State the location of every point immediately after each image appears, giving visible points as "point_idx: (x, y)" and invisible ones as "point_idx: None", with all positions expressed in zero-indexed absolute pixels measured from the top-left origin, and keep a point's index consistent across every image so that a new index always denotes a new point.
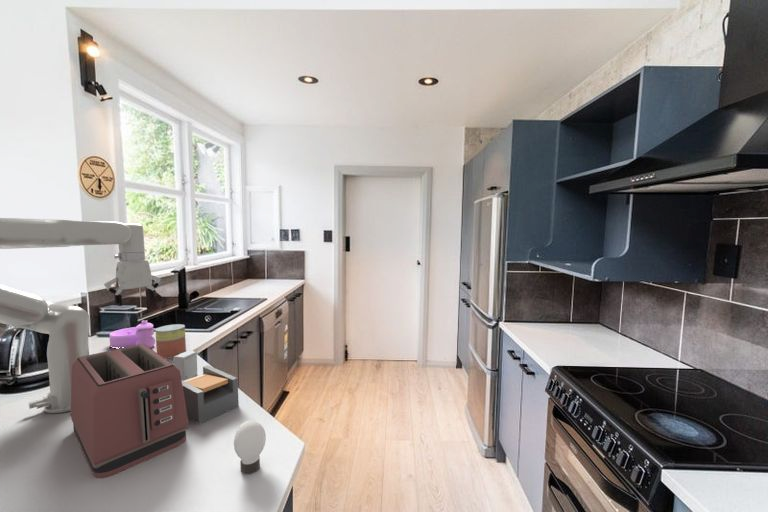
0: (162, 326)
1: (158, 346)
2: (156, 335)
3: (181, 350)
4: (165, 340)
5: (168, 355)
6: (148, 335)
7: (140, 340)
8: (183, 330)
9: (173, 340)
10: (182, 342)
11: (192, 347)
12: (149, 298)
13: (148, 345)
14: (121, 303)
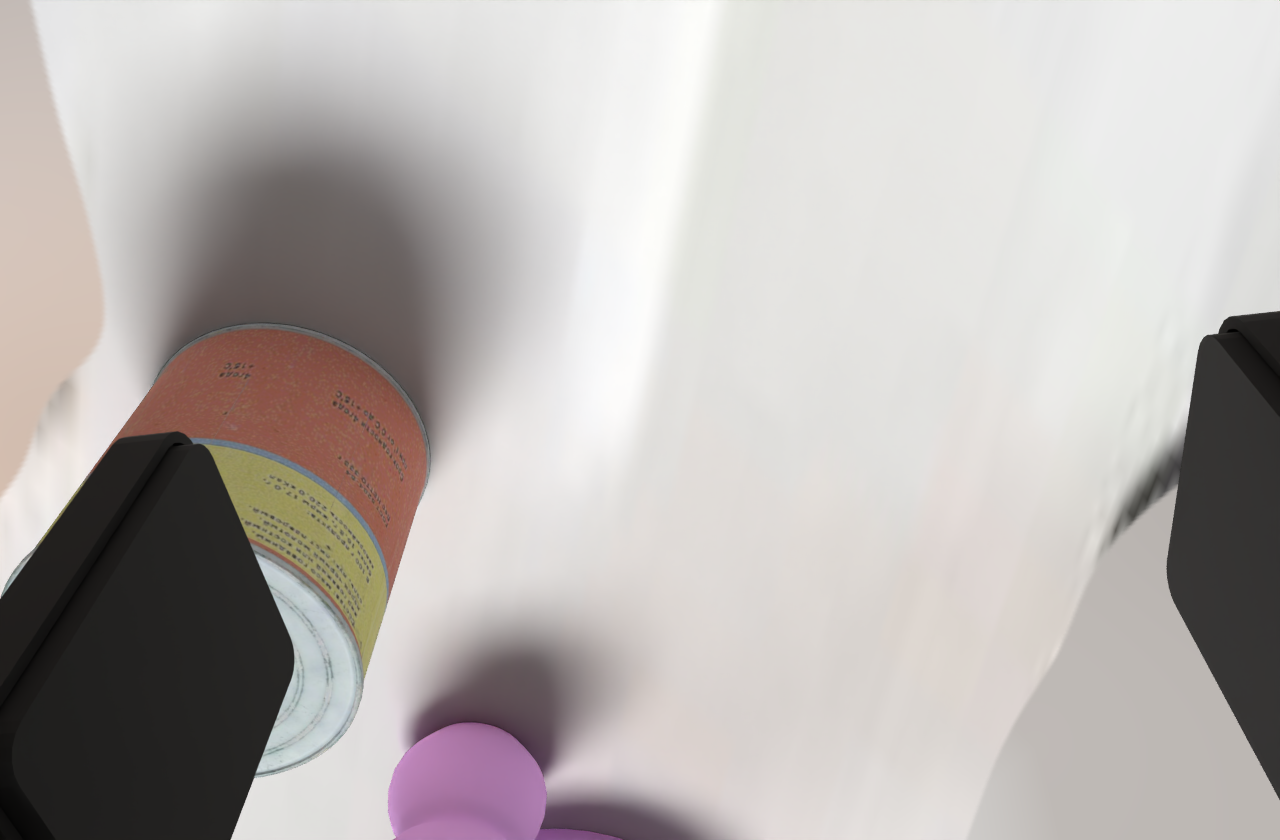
0: (270, 770)
1: (387, 489)
2: (369, 605)
3: (181, 365)
4: (294, 470)
5: (324, 353)
6: (432, 825)
7: (508, 808)
8: (40, 541)
9: (208, 436)
10: (128, 427)
11: (81, 483)
12: (202, 571)
13: (455, 735)
14: (1261, 363)
